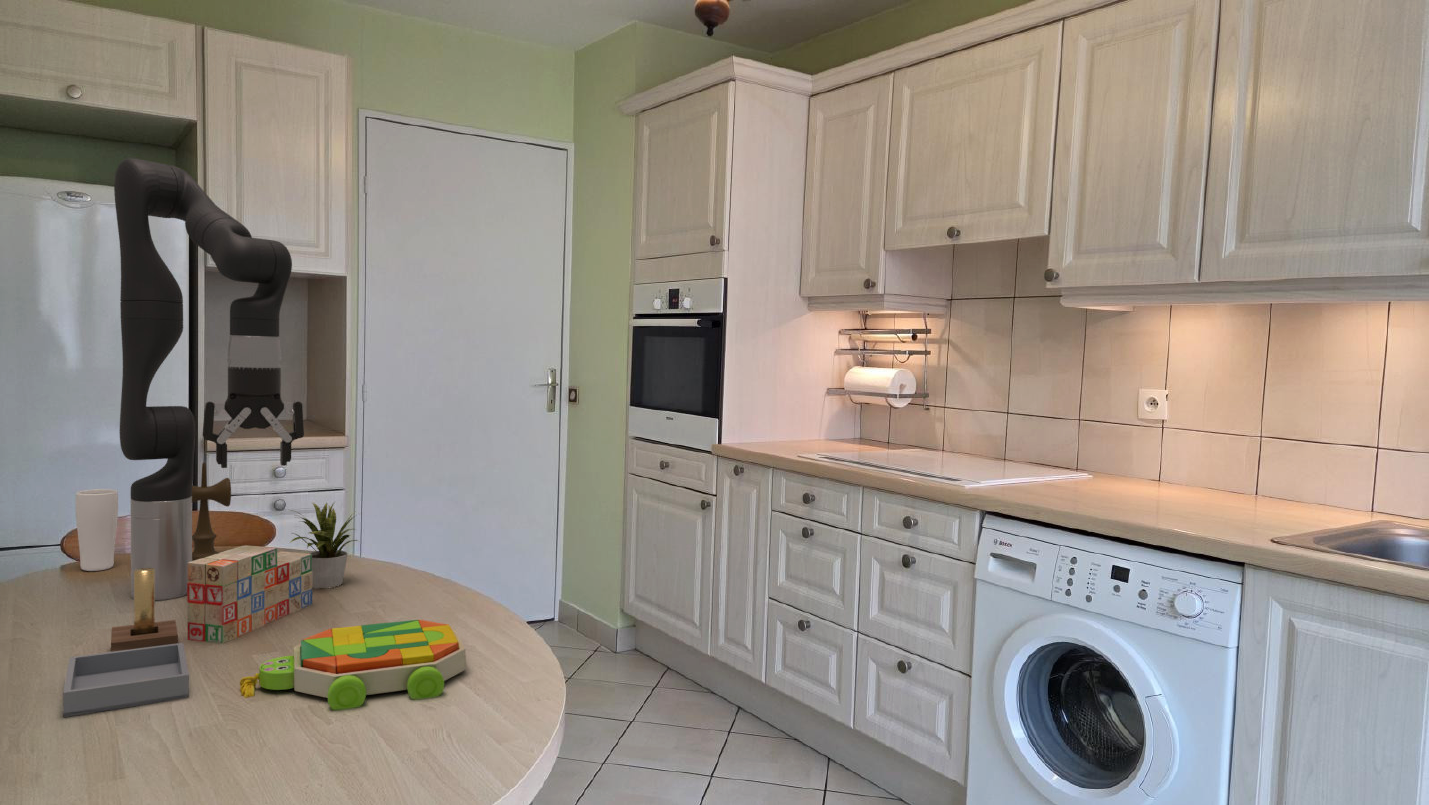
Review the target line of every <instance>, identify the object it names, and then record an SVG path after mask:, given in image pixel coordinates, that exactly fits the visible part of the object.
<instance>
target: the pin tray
mask: <svg viewBox="0 0 1429 805" xmlns="http://www.w3.org/2000/svg"><path fill="white" fill-rule="evenodd" d="M185 650H186V649H185V645H184V642H178V643H177V644H169V645H161V646H153V647H145V648H138V649H130V650H122V651H114V652H111V651H108V652H99V653H91V654H84V655H75V656H70V657H69V658H68V664H67V670H66V675H65V681H64V687H63V694H62V695H63V696H62V699H63V700H62V702H63V703H62V708H63V710H62V713H63V714H62V715H63V718H67V717H74V716H75V717H76V716H81V715H88V714H94V713H101V712H107V711H113V710H120V709H127V708H132V707H133V708H134V707H140V706H146V705H152V704H159V703H164V702H170V701H176V700H177V701H178V700H181V699H188V698H189V697H190V673H189V667H188V663H187V662H188V661H187V656H186V651H185Z"/></svg>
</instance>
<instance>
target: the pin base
mask: <svg viewBox="0 0 1429 805" xmlns="http://www.w3.org/2000/svg"><path fill="white" fill-rule="evenodd" d="M178 635H179V634H178V629H177V622H176V619H172V620H164V621H155V633H153V634H144V635H136V636H134V624H129V625H128V624H127V625H118V626H112V627H111V633H110V652H114V651H122V650H130V649H138V648H145V647H153V646H161V645H169V644H177V643H179V637H178Z"/></svg>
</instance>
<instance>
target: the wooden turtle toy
mask: <svg viewBox="0 0 1429 805" xmlns="http://www.w3.org/2000/svg"><path fill="white" fill-rule="evenodd" d="M464 671H466V647H465V645H464V644H463V641H462V640H461V638H460V636H459V634H458V633H457V631H456V629H453V628H452V627H451V625H450V624H446V623H440V622H436V621H429V620H423V619H410V620H401V621H394V622H393V621H392V622H389V621H388V622H380V623H370V624H362V625H354V626H344V627H335V628H333V627H332V628H328V629H326V630H323V631H320V632H317V633H315V634H313V635H311V636H308V637H305V638H304V639H302V640H300V643H299V644H298V645H295V646H294V647H293V655H286V656H279V657H278V656H277V657H275V658H271V659H268V660H266V661H264V662H263V663H261V664H260V665H259V673H255V675H253V676H249V675H248V676H244V677H242V678H240V680H239V686H240V687H239V688H240V689H239V691H240V695H241V696H243V698H244V699H247V698H253V697H255V690H256V688H257V685H256V684H258V685H259V686H260V687H261V688H263V689H266V690H272V691H273V690H274V691H280V690H281V691H282V690H291V689H293V690H294V691H295V692H297V693H298V692H299V693H303V694H307V695H313V696H317V697H321V698H327V703H328V705H329V707H330V708H331V709H332V710H333V711H340V710H341V711H342V710H348V709H355V708H359V707H361V706H363V704H364V702H365V700H366V698H367V697H366V696H369V695H370V696H371V695H378V694H384V693H385V694H386V693H393V692H400V691H407V693H408V695H409V698H410V699H412V700H421V699H428V698H430V699H431V698H436V697H439V696H441V695H442V693H443V691H444V689H445V681H447V680H449V679H452V677H455V676H456V675H458V674H460V673H462V672H464Z"/></svg>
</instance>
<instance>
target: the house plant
mask: <svg viewBox="0 0 1429 805" xmlns="http://www.w3.org/2000/svg"><path fill="white" fill-rule="evenodd" d="M311 504H312V505H313V507H314V510H315V515H316V519H317V521H318V522H317V523H318V525H319V528H320V529H318V527H317V526H316V524H314V523H313V522H312V521H311V520H309V519H307V518H306V517H304V515H303V514H302V513H300V511H299V512H298V511H296V510H292V509H289V511H291V512H296V513H298V514H299V515H298V514H295V516H296V517H298V518H300V519H301V520H299V521H298V523H299V522H302V523H304V524H305V525H307V526H308V528H309V529H310V530H311V531H309V532H308V534H309V535H310V534H311V535H314V536H313V537H314V538H315V539H316V540H314V539H312V538H309V537H307V536H301V535H299V534H297V533H294V532H292V534H293V535H296V536H297V537H294V538H293V539H292V540H290V543H292V542H294V541H296V540H300V539H301V540H302V541H304V542H305V543H306V544H307V545H306V549H308V548H309V547H311V548H312V550H314V551H311V552H308V553H307V554H312V572H313V587H312V589H318V588H326V589H332V588H331V587H334V588H336V587H335V586H338V585H340V586H342V585H343V581H344V575H345V569H346V563H347V560H348V551H346V550H343V548H344V547H345V546H346V545H347V544H348V543H351V542H358V543H359V542H360V541H359V540H358V539H352V540H351V539H350V540H348V541H346V542H345V540H346V539H348V538H350V537H351V535H350V534H346V533H347V532H349V531H353V530H355V531H356V532H357V531H358V530H357V529H356V528H349V529H346V528H347V526H348V524H349V523H350V522H351V521H352V520H353V519H354V518H355V517H356V515H355V516H353V514H355V512H353V513H351V515H350V516H349V517H348V518H347V520H346V521H345V522H344V524H343V525H342V526H341V527H340V529H339V531H338V533H337V534H336V537H335V538H334V536H335V530H336V523H337V513H336V510H335V508H334V507H333V506H334V504H335V502H333V503H332V504H331V506H330V505H328V502H326V503H324V506H323V508H322V509H321V508H320V507H319V506H318V505H317V504H316V503H315V502H311ZM282 510H283V511H285V509H284V508H283V509H282ZM361 514H362V512H360V513H359V515H361ZM307 540H309V541H310V542H308V541H307ZM344 542H345V543H344ZM313 545H314V546H316V548H314V547H313ZM316 549H317V550H316ZM341 584H342V585H341ZM329 587H330V588H329ZM338 587H339V586H338Z"/></svg>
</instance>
